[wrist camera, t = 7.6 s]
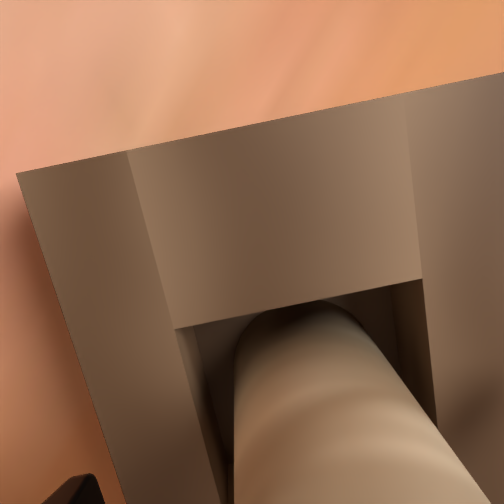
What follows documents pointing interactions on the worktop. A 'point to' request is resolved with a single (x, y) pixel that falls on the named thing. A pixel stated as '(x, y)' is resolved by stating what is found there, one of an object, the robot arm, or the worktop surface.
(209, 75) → the worktop surface
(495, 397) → the bore block
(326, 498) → the pin
